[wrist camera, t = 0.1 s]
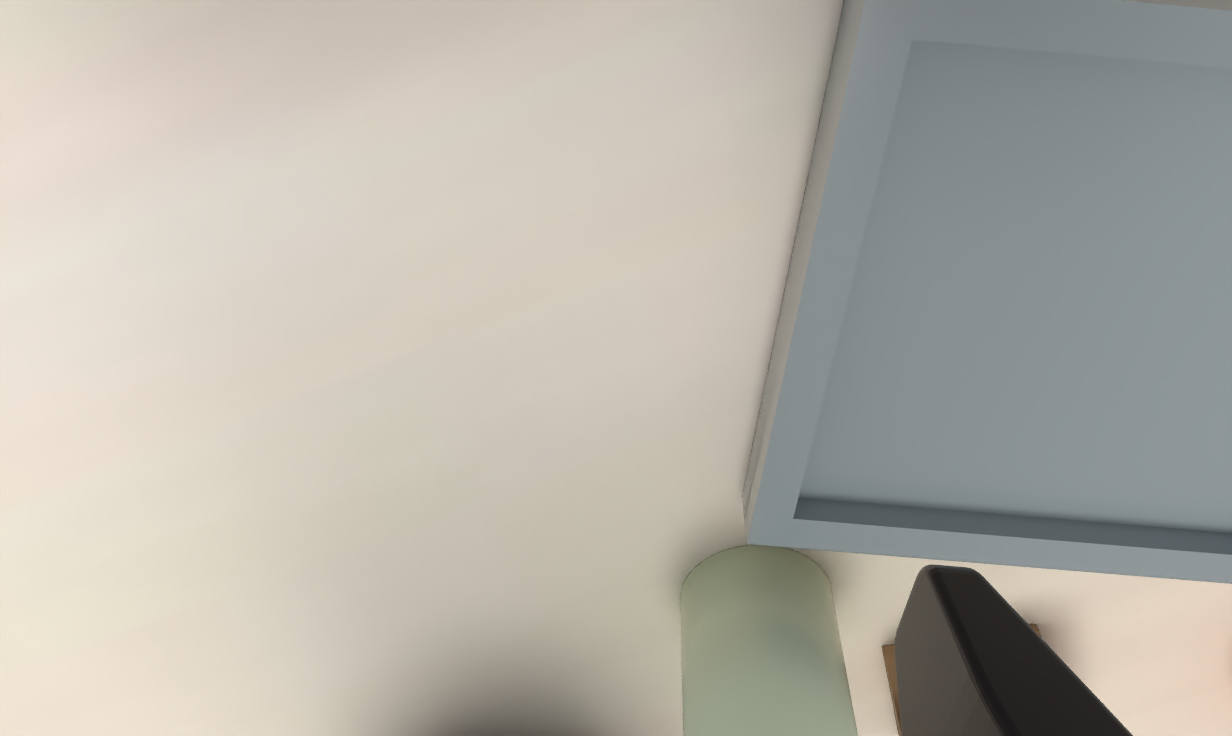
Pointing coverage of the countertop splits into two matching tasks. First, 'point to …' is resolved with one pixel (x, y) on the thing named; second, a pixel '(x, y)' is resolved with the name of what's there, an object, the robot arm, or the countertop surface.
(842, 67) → the dish
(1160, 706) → the countertop surface
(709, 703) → the sage green capsule
